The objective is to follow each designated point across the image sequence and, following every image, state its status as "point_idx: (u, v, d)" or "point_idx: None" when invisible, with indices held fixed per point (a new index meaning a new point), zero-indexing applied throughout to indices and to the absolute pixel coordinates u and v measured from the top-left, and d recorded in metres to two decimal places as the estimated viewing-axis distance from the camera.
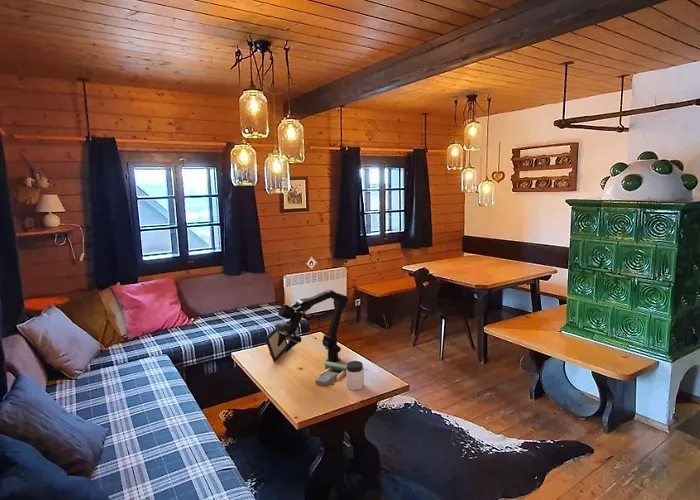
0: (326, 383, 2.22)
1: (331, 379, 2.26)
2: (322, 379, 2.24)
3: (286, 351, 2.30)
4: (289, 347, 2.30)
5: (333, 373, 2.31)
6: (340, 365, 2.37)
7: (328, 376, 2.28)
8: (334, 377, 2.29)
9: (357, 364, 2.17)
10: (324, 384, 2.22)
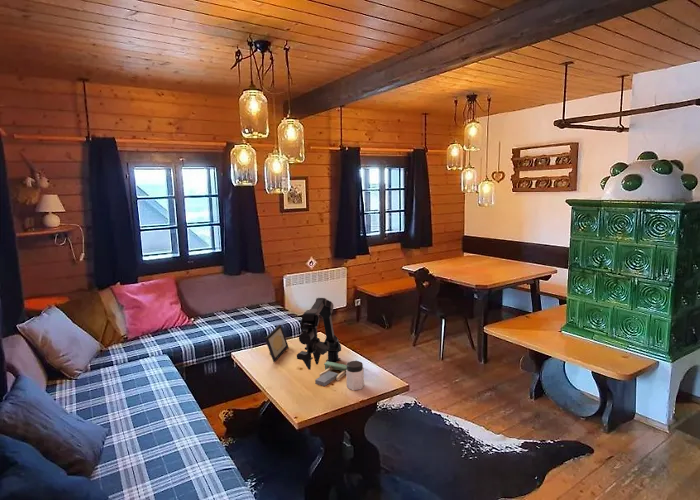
0: (325, 383, 2.22)
1: (331, 379, 2.26)
2: (322, 379, 2.24)
3: None
4: None
5: (333, 373, 2.31)
6: (340, 365, 2.37)
7: (328, 376, 2.28)
8: (334, 377, 2.29)
9: (357, 364, 2.17)
10: (323, 384, 2.22)
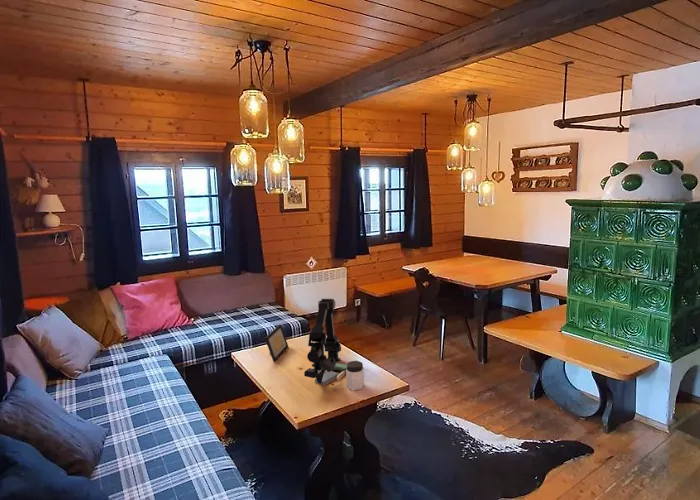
0: (325, 383, 2.23)
1: (330, 379, 2.27)
2: None
3: None
4: None
5: (334, 373, 2.32)
6: (340, 365, 2.37)
7: (328, 376, 2.29)
8: (334, 377, 2.29)
9: (357, 364, 2.17)
10: (322, 383, 2.23)
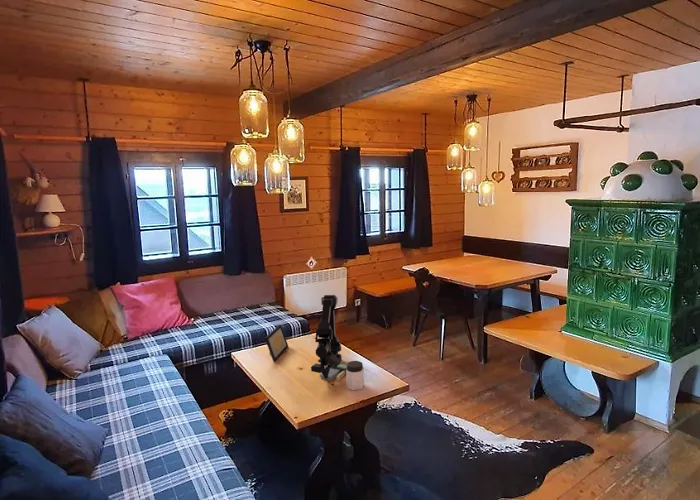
0: (331, 378, 2.28)
1: (336, 374, 2.32)
2: (328, 374, 2.30)
3: (326, 377, 2.28)
4: None
5: (337, 368, 2.37)
6: (340, 365, 2.37)
7: (333, 371, 2.34)
8: (339, 372, 2.35)
9: (357, 364, 2.17)
10: (329, 379, 2.28)
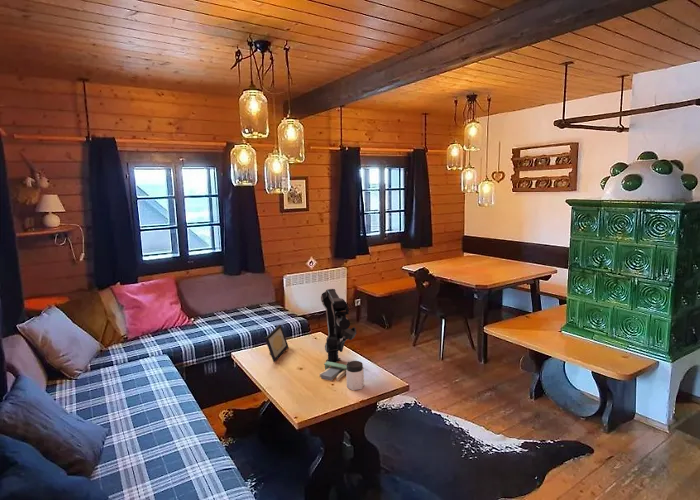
0: (332, 378, 2.28)
1: (336, 374, 2.33)
2: (328, 374, 2.30)
3: None
4: None
5: (338, 368, 2.37)
6: (340, 365, 2.37)
7: (333, 371, 2.34)
8: (339, 372, 2.35)
9: (357, 364, 2.17)
10: (330, 379, 2.28)
